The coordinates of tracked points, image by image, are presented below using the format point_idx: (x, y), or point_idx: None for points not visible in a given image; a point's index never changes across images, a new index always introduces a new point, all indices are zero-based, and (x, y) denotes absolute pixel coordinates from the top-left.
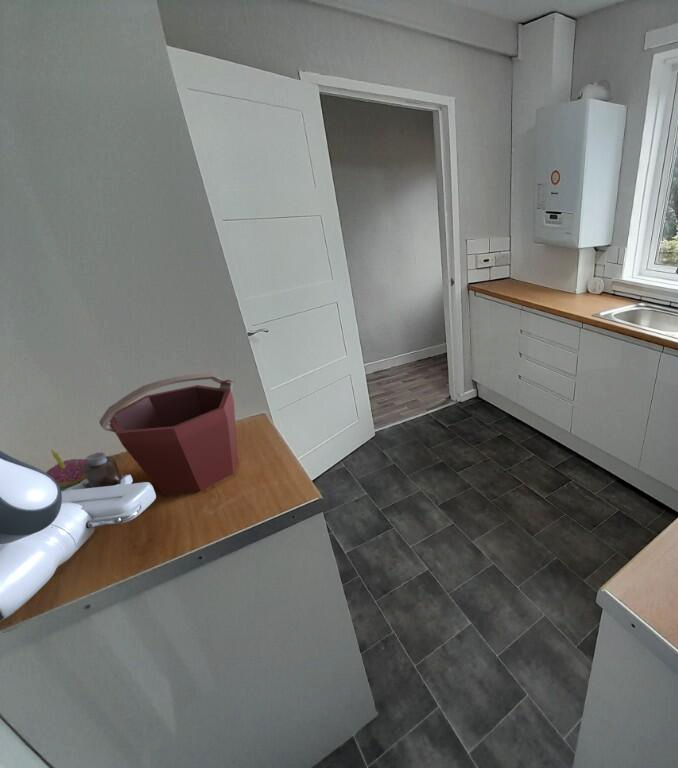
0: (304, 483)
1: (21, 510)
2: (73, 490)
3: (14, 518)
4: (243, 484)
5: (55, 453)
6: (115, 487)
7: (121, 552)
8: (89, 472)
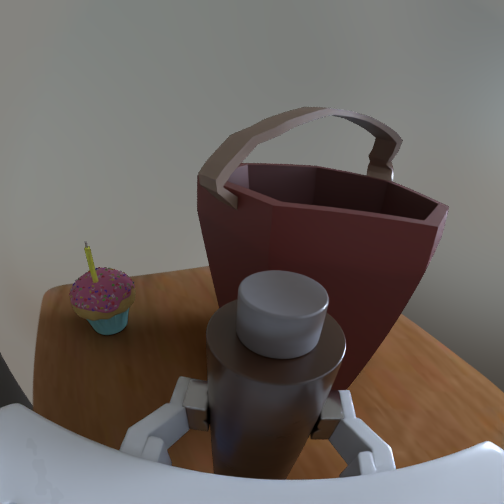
0: (490, 382)
1: None
2: (186, 481)
3: None
4: (405, 382)
5: (89, 249)
6: (411, 490)
7: None
8: (266, 397)
